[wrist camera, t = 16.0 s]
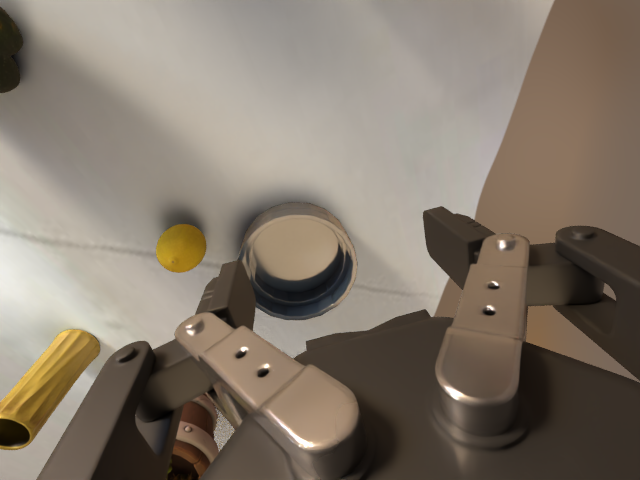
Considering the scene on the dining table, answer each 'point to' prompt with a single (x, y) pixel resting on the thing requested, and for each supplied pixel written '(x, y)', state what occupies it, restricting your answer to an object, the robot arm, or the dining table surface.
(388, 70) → the dining table surface
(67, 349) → the vase
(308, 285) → the bowl
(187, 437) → the flowerpot
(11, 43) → the squash
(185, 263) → the lemon
